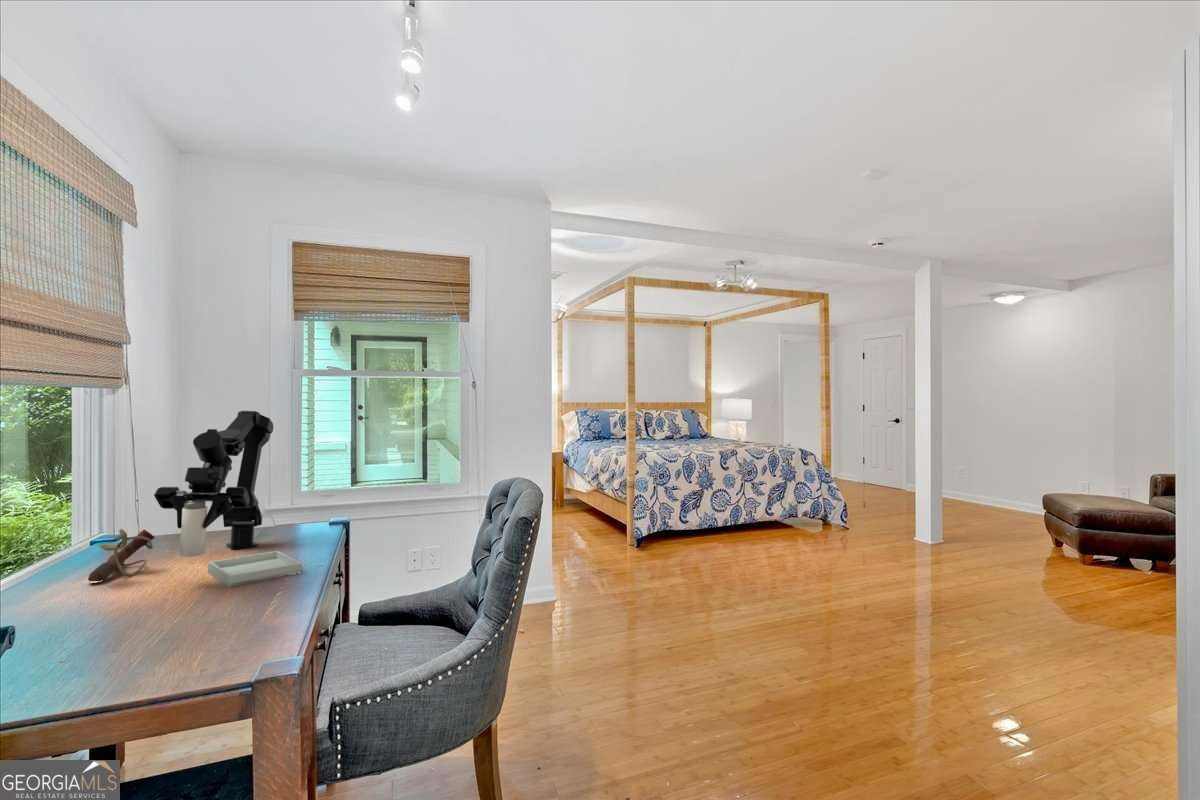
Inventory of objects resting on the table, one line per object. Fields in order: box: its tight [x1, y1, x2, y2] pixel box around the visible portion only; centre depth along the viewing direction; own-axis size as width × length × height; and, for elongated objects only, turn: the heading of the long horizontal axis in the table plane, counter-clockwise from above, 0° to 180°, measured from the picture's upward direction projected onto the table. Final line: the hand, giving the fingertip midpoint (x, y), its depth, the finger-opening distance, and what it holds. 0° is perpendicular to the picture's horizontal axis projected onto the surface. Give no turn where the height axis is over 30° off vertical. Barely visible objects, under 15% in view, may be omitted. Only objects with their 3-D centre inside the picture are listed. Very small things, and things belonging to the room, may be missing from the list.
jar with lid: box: [179, 501, 208, 558], centre depth 129 cm, size 5×5×12 cm
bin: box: [207, 550, 303, 588], centre depth 138 cm, size 16×16×2 cm
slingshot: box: [87, 528, 155, 582], centre depth 131 cm, size 17×10×15 cm
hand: (191, 527), depth 127 cm, fingers closed on jar with lid, 5 cm apart
